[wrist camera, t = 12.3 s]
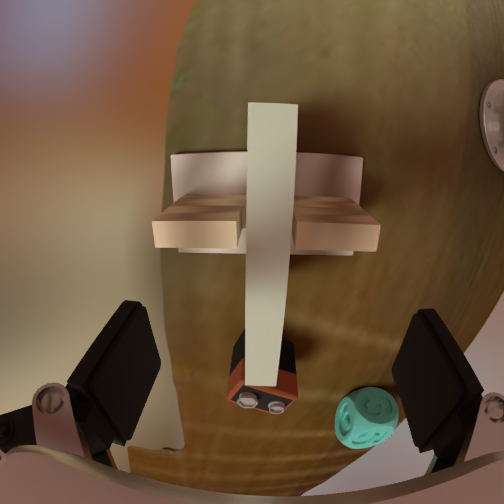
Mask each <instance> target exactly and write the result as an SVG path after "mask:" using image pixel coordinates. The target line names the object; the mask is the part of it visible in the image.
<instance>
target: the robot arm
mask: <svg viewBox="0 0 504 504" xmlns="http://www.w3.org/2000/svg"><path fill="white" fill-rule="evenodd" d="M480 127H481V132H482V137H483V141H484V144H485V147H486V150H487V152H488V154H489V156H490V158H491V160H492V161H493V163H494V164H495V165H496V167H497V168H499V169H500V170H501V171H502V172H504V80H502V79H499V80H493V81H491V82H490V83H489V84H488V85H487V86H486V87H485V89H484V91H483V93H482V97H481V101H480ZM160 366H161V360H160V357H159V353H158V350H157V346H156V343H155V340H154V336H153V332H152V329H151V325H150V321H149V317H148V314H147V310H146V308H145V307H144V306H142V304H141V303H140V302H136V301H127V300H125V301H124V302H122V304H121V305H120V306H119V308H118V309H117V310H116V312H115V313H114V314H113V316H112V317H111V318H110V320H109V321H108V323H107V324H106V325H105V327H104V328H103V330H102V331H101V332H100V334H99V335H98V336H97V338H96V339H95V341H94V342H93V343H92V345H91V346H90V348H89V349H88V351H87V352H86V354H85V355H84V357H83V358H82V359H81V361H80V363H79V364H78V365H77V367H76V368H75V370H74V371H73V373H72V374H71V376H70V377H69V379H68V381H67V383H68V384H67V385H66V387H64V386H63V385H61V384H59V383H48V384H46V385H43V386H42V387H40V388H39V389H38V390H37V391H36V393H35V394H34V397H33V400H32V405H30V406H27V407H24V408H21V409H18V410H15V411H12V412H9V413H5V414H2V415H0V504H504V396H502V395H501V394H499V393H489V394H487V395H485V396H484V397H482V395H481V394H482V392H483V391H484V389H483V387H482V386H481V384H480V382H479V380H478V378H477V377H476V375H475V373H474V371H473V369H472V368H471V366H470V364H469V362H468V361H467V359H466V357H465V356H464V354H463V352H462V351H461V349H460V347H459V346H458V344H457V342H456V341H455V339H454V338H453V336H452V335H451V333H450V332H449V330H448V328H447V327H446V325H445V324H444V322H443V321H442V319H441V318H440V316H439V315H438V314H437V312H436V311H435V310H434V309H420V310H418V311H417V313H416V314H414V315H413V317H412V320H411V322H410V325H409V328H408V330H407V333H406V335H405V338H404V340H403V343H402V345H401V348H400V350H399V352H398V355H397V357H396V359H395V361H394V364H393V366H392V376H393V378H394V381H395V384H396V387H397V390H398V393H399V396H400V399H401V402H402V405H403V408H404V411H405V415H406V418H407V421H408V425H409V428H410V431H411V435H412V438H413V442H414V444H415V446H416V447H418V448H419V452H420V453H422V452H426V451H429V450H432V449H433V450H434V457H433V459H432V461H431V463H430V465H429V467H428V469H427V471H426V473H425V475H424V476H421V477H417V478H414V479H410V480H407V481H403V482H399V483H395V484H391V485H386V486H381V487H376V488H372V489H366V490H359V491H352V492H345V493H337V494H327V495H314V496H283V497H281V496H250V495H237V494H227V493H219V492H211V491H204V490H198V489H192V488H187V487H182V486H177V485H172V484H168V483H164V482H160V481H156V480H152V479H148V478H145V477H141V476H138V475H134V474H131V473H127V472H124V471H121V470H118V469H117V466H116V464H115V461H114V459H113V457H112V454H111V452H110V446H111V444H112V443H115V444H118V445H122V446H125V443H126V441H127V440H130V439H131V438H132V436H133V433H134V431H135V428H136V426H137V423H138V421H139V418H140V416H141V413H142V410H143V408H144V406H145V403H146V401H147V398H148V396H149V394H150V391H151V389H152V386H153V384H154V382H155V379H156V377H157V375H158V372H159V370H160Z"/></svg>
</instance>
